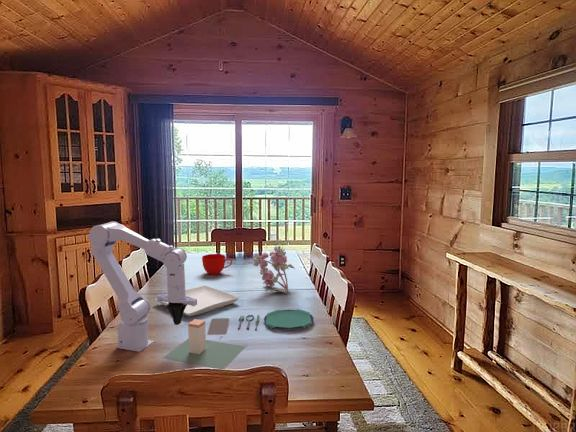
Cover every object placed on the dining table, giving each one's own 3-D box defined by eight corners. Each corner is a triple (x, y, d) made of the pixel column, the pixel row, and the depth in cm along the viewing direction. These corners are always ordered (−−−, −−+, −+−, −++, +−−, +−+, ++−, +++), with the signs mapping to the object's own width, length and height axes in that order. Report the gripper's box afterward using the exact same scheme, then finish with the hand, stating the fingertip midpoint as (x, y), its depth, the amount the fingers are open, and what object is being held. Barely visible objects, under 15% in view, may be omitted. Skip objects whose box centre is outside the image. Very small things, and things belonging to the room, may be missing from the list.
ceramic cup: (230, 276, 219) (230, 259, 218) (200, 276, 219) (199, 259, 218) (233, 270, 232) (233, 254, 231) (205, 270, 232) (204, 253, 231)
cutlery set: (315, 332, 148) (315, 326, 147) (235, 334, 147) (235, 328, 147) (311, 313, 167) (311, 308, 167) (241, 314, 167) (240, 309, 167)
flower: (306, 281, 206) (285, 238, 206) (303, 290, 183) (280, 242, 184) (271, 296, 208) (251, 253, 208) (264, 308, 185) (242, 259, 186)
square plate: (240, 304, 177) (240, 296, 177) (188, 322, 157) (187, 313, 157) (205, 291, 196) (205, 283, 195) (154, 305, 176) (153, 297, 175)
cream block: (189, 352, 131) (188, 323, 130) (195, 347, 135) (194, 319, 133) (199, 354, 130) (198, 325, 128) (205, 348, 133) (205, 320, 132)
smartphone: (206, 335, 144) (211, 318, 159) (206, 337, 144) (211, 320, 159) (226, 334, 145) (229, 318, 159) (226, 336, 145) (229, 320, 160)
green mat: (162, 358, 127) (162, 357, 127) (190, 338, 142) (190, 337, 142) (223, 370, 120) (223, 369, 120) (245, 347, 135) (245, 346, 135)
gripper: (201, 283, 133) (202, 321, 135) (165, 279, 138) (166, 316, 139) (189, 289, 126) (191, 330, 128) (152, 285, 131) (153, 324, 133)
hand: (177, 323), depth 133 cm, fingers closed
